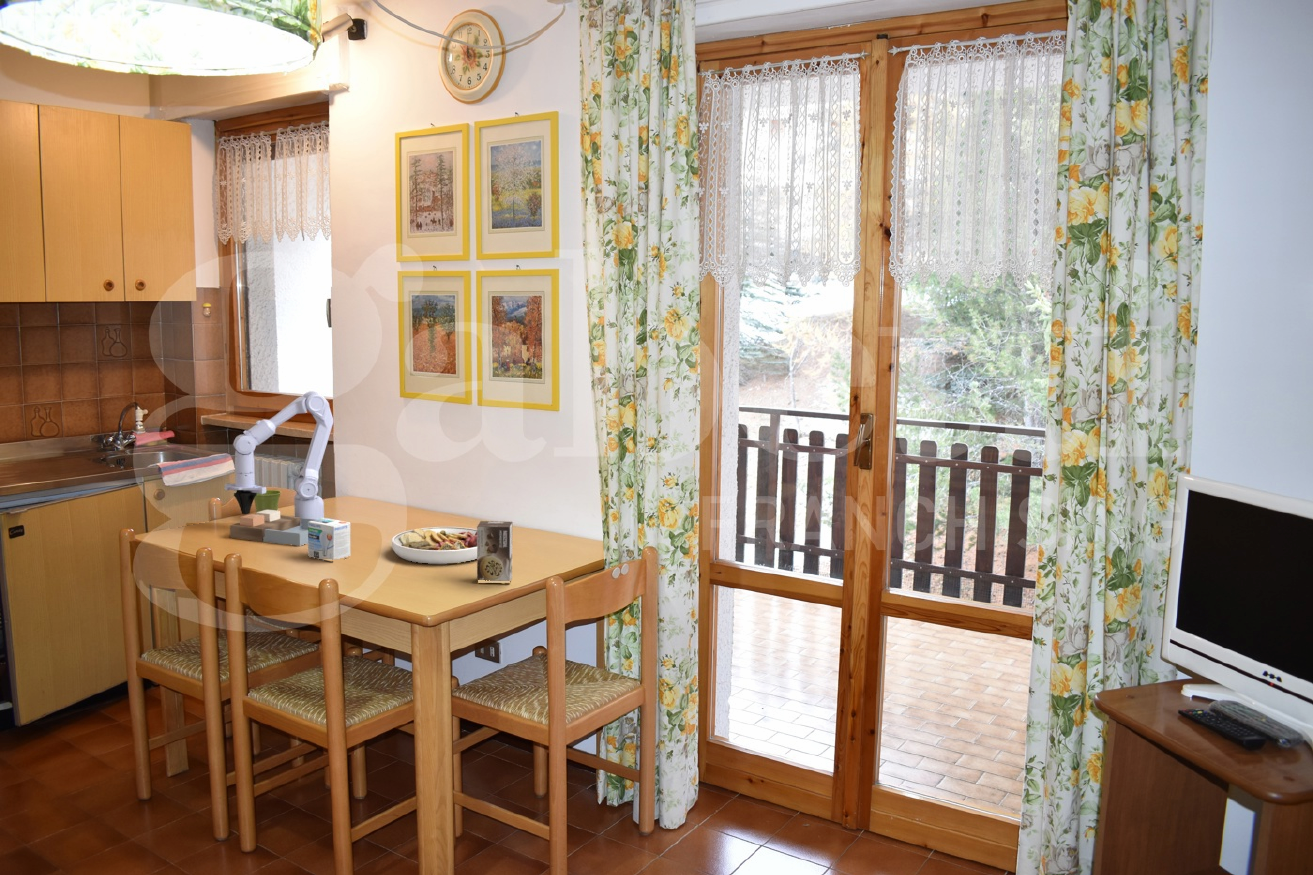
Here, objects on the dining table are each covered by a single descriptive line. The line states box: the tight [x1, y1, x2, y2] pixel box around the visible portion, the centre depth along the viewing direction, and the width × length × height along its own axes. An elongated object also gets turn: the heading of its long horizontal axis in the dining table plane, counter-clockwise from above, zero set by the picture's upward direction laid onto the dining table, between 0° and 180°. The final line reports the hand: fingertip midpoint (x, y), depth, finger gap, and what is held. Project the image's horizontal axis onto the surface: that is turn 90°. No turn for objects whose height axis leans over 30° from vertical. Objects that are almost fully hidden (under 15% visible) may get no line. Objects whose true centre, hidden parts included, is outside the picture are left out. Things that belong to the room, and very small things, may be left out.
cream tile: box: [255, 510, 281, 522], centre depth 302 cm, size 5×5×2 cm
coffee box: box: [476, 520, 514, 581], centre depth 257 cm, size 9×6×16 cm
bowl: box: [391, 526, 477, 565], centre depth 284 cm, size 30×30×8 cm
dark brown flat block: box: [229, 514, 300, 543], centre depth 300 cm, size 18×12×4 cm, turn 163°
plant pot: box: [253, 489, 282, 512], centre depth 322 cm, size 9×9×9 cm
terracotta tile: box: [239, 513, 264, 527], centre depth 295 cm, size 5×5×2 cm
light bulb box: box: [307, 517, 351, 560], centre depth 275 cm, size 11×7×11 cm, turn 62°
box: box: [263, 518, 318, 547], centre depth 296 cm, size 18×13×4 cm
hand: (245, 513), depth 305 cm, fingers closed
